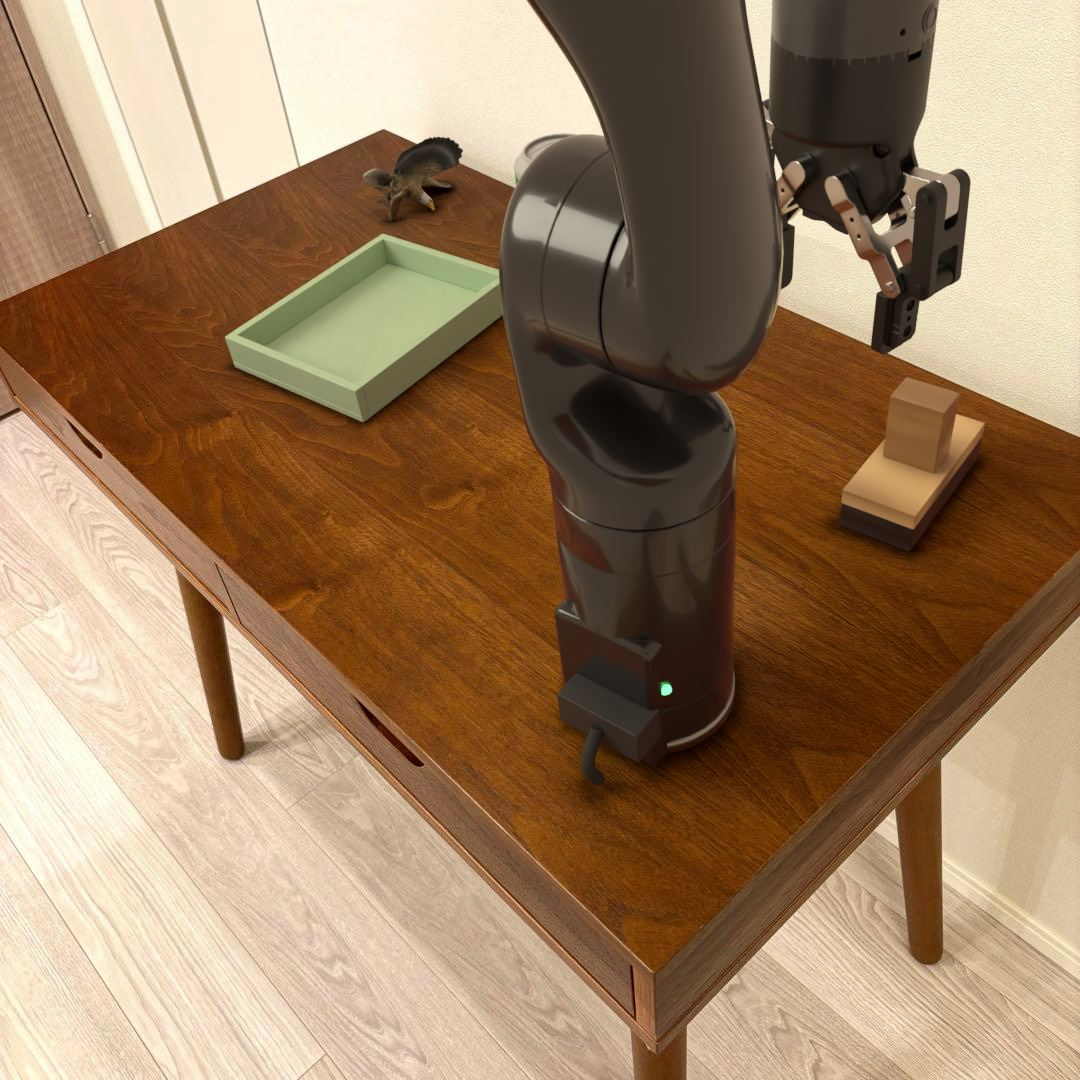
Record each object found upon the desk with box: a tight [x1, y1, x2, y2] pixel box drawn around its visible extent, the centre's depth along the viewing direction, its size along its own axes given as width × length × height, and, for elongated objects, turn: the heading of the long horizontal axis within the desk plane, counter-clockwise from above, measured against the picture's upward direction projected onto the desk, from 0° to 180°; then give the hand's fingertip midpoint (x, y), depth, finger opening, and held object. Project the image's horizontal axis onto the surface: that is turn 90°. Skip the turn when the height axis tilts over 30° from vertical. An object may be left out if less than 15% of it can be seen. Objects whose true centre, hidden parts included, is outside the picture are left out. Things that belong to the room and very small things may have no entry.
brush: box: [839, 377, 986, 552], centre depth 75 cm, size 11×5×8 cm, turn 142°
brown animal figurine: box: [362, 136, 464, 222], centre depth 115 cm, size 8×7×9 cm
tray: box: [224, 233, 503, 423], centre depth 99 cm, size 20×16×3 cm
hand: (829, 316), depth 65 cm, fingers open, 8 cm apart
